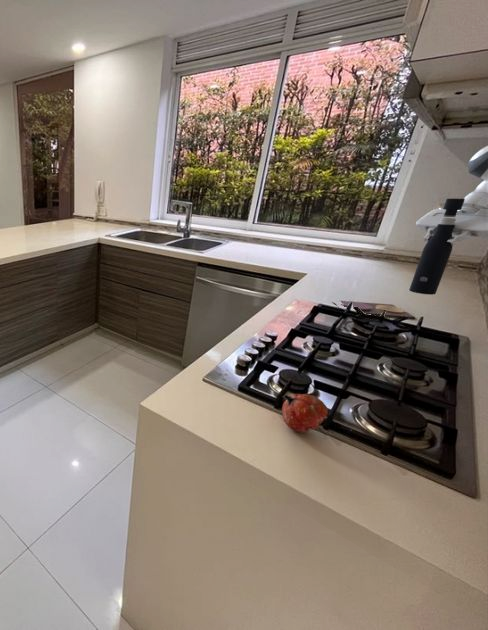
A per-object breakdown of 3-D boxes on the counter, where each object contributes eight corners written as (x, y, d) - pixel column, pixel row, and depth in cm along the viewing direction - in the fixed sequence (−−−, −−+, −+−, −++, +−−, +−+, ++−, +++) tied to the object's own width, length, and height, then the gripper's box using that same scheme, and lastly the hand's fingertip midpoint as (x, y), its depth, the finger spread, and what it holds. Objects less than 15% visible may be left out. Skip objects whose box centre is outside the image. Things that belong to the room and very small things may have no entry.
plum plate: (364, 304, 130) (365, 302, 130) (376, 311, 122) (377, 309, 122) (337, 302, 133) (337, 300, 133) (347, 309, 125) (348, 307, 125)
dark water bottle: (429, 290, 116) (464, 198, 106) (439, 295, 110) (476, 198, 100) (405, 288, 118) (436, 198, 108) (413, 293, 113) (447, 199, 103)
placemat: (391, 306, 130) (392, 303, 130) (414, 319, 118) (415, 315, 117) (331, 302, 136) (332, 299, 135) (346, 313, 123) (347, 310, 123)
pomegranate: (312, 429, 68) (273, 391, 70) (348, 416, 63) (305, 375, 65) (305, 453, 63) (264, 411, 66) (343, 441, 58) (297, 396, 60)
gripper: (433, 200, 115) (399, 231, 117) (517, 203, 96) (475, 239, 98) (438, 214, 117) (405, 243, 119) (521, 219, 98) (481, 254, 100)
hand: (437, 241), depth 109 cm, fingers closed on dark water bottle, 5 cm apart
